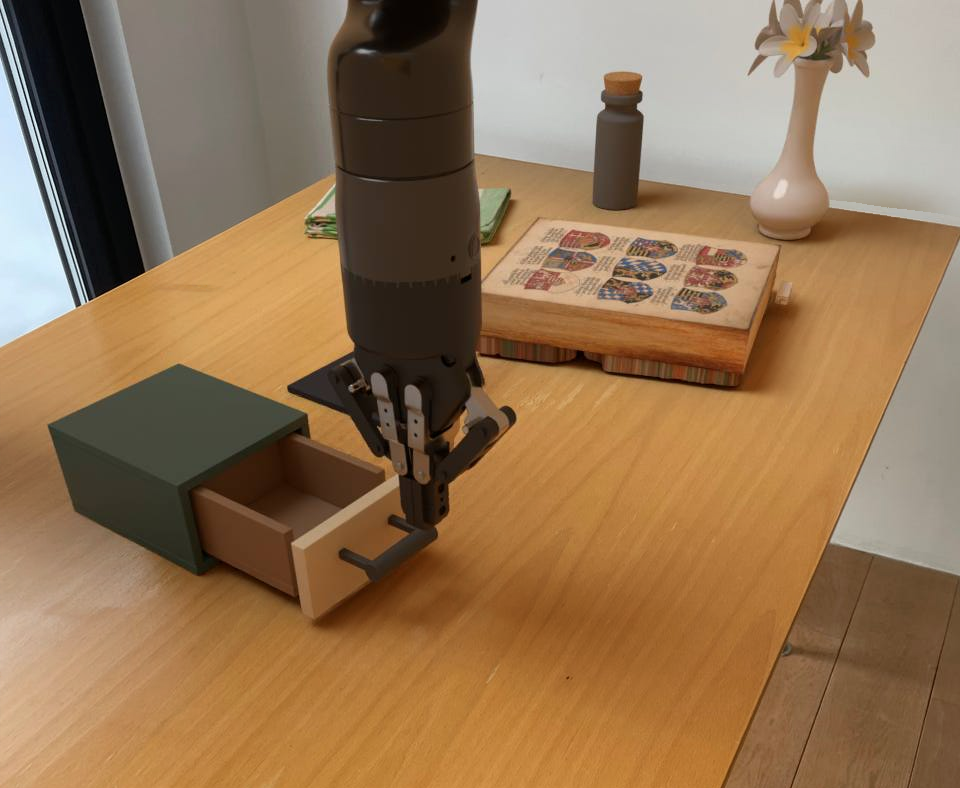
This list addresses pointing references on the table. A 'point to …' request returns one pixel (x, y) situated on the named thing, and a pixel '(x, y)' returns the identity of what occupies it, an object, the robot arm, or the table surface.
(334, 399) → the mat
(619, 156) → the bottle
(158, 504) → the cabinet
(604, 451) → the table surface
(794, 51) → the flower vase
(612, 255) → the wooden box
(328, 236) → the dish towel
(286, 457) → the drawer
